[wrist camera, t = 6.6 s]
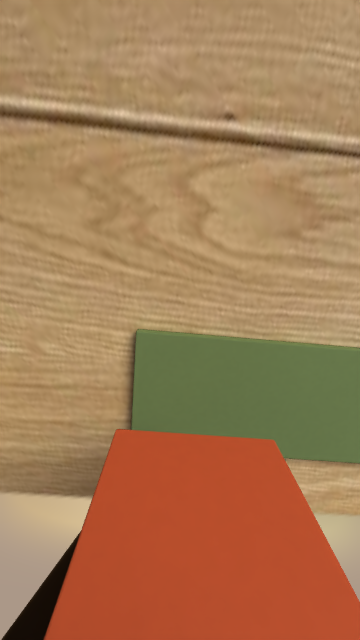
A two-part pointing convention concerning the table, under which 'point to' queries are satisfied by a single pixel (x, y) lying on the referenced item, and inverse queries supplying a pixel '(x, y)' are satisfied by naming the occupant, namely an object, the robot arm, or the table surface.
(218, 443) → the block
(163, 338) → the cloth mat
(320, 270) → the table surface
